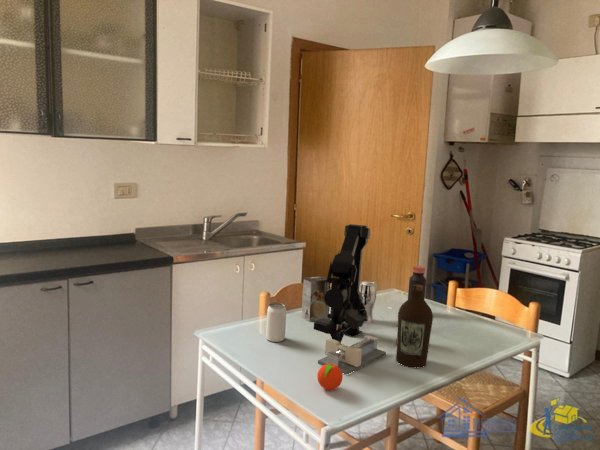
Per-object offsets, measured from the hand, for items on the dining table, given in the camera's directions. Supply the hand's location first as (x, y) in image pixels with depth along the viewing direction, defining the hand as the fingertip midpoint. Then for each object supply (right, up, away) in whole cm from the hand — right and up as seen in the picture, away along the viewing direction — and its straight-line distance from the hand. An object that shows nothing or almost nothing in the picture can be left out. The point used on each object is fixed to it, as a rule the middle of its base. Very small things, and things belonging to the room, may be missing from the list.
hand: (337, 346), depth 156 cm
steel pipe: (+5, -4, 0) cm, 6 cm away
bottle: (+36, +1, +51) cm, 62 cm away
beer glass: (+14, +1, +38) cm, 41 cm away
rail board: (+5, -4, 0) cm, 6 cm away
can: (-20, -1, +13) cm, 24 cm away
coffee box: (-6, +2, +38) cm, 38 cm away
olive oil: (+23, -5, 0) cm, 24 cm away
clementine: (-4, -7, -21) cm, 22 cm away
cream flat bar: (+1, -3, -4) cm, 6 cm away
